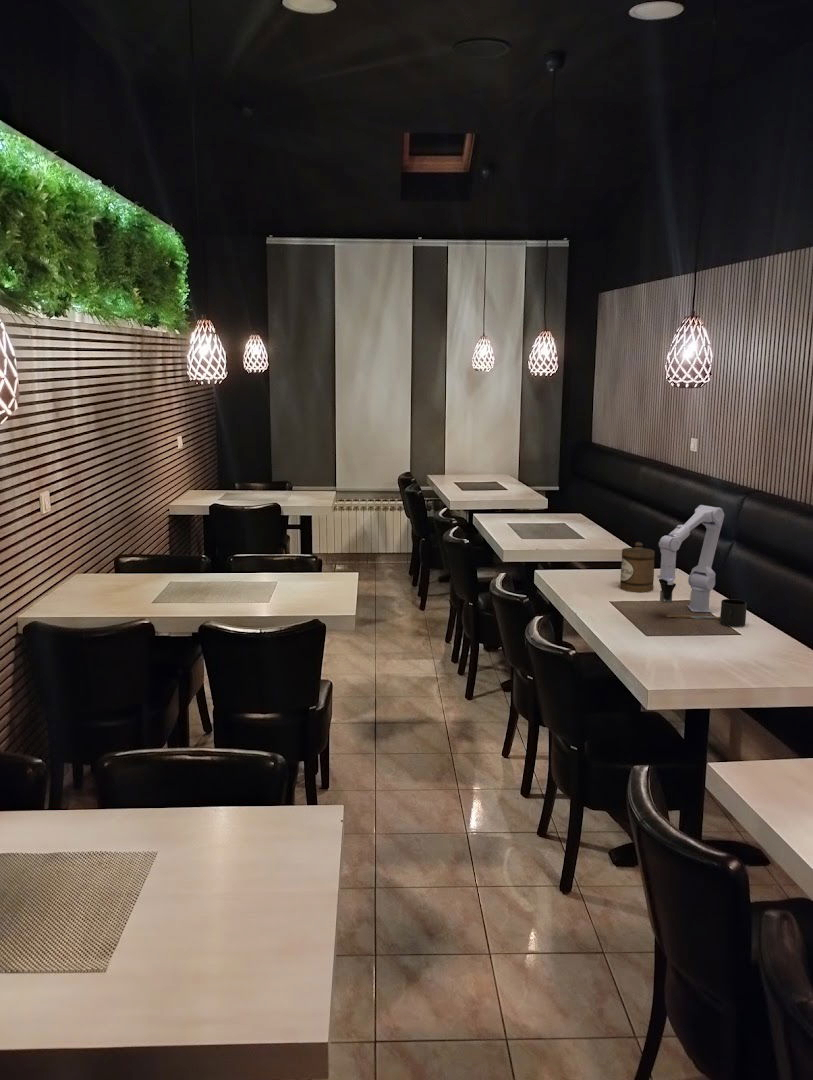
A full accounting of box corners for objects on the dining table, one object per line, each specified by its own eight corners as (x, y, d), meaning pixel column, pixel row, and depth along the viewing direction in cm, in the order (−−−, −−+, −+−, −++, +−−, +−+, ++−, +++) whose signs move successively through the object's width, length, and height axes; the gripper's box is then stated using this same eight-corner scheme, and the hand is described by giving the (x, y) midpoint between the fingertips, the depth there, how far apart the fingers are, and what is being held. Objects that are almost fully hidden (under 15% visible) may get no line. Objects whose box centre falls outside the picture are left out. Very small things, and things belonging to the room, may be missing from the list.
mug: (716, 626, 340) (717, 604, 338) (722, 619, 350) (724, 597, 348) (741, 630, 335) (743, 607, 333) (747, 622, 345) (749, 600, 343)
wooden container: (617, 584, 408) (619, 539, 404) (648, 585, 407) (651, 539, 403) (623, 592, 393) (626, 545, 389) (656, 593, 393) (659, 545, 389)
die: (659, 600, 354) (660, 590, 353) (669, 600, 353) (670, 590, 353) (661, 602, 350) (662, 592, 349) (671, 603, 349) (672, 592, 348)
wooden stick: (666, 616, 354) (666, 614, 353) (738, 618, 350) (738, 617, 350) (667, 617, 351) (667, 616, 351) (739, 620, 348) (739, 618, 348)
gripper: (655, 561, 356) (653, 593, 359) (660, 569, 342) (659, 602, 345) (672, 561, 355) (670, 593, 358) (679, 569, 341) (677, 602, 344)
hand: (666, 598), depth 351 cm, fingers closed on die, 4 cm apart
